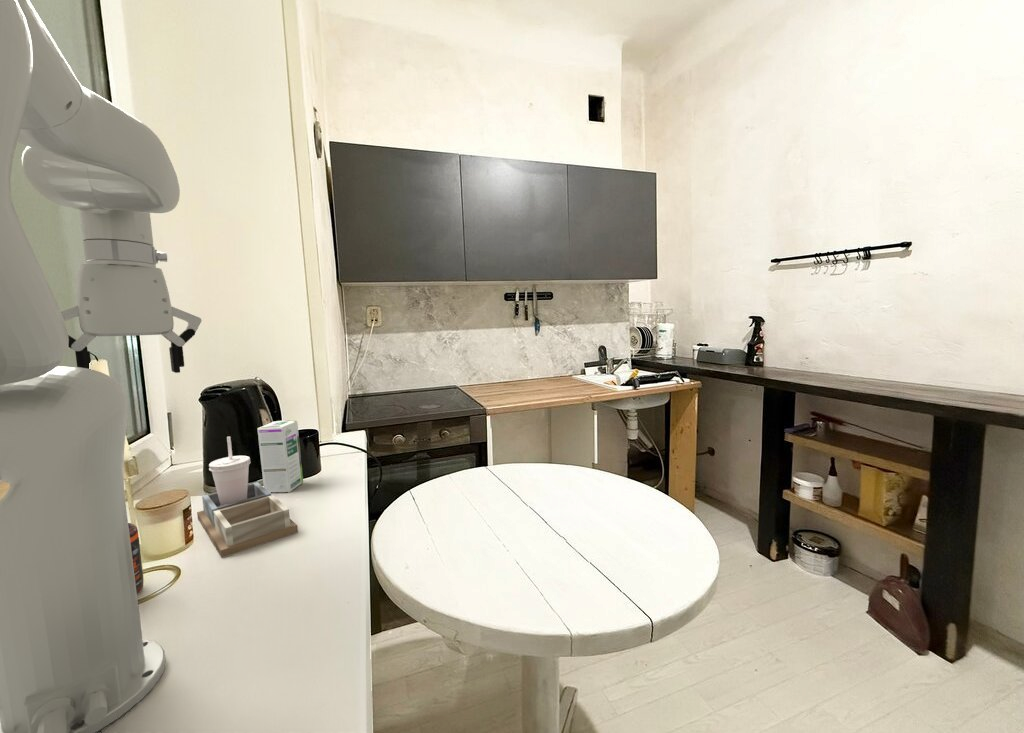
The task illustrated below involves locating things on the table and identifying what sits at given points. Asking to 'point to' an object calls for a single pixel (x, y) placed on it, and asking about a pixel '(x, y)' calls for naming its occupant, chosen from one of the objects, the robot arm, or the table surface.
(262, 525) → the organizer
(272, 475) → the syrup box
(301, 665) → the table surface
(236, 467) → the smoothie
